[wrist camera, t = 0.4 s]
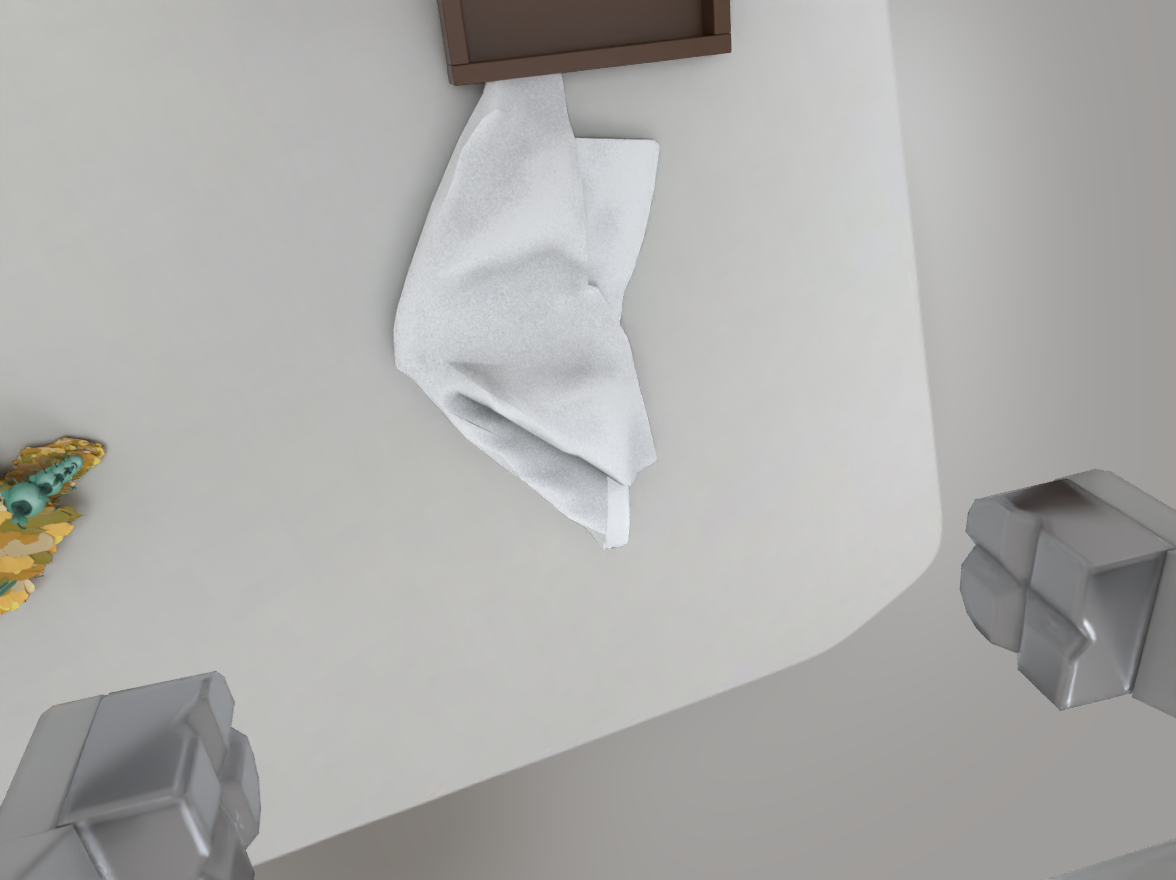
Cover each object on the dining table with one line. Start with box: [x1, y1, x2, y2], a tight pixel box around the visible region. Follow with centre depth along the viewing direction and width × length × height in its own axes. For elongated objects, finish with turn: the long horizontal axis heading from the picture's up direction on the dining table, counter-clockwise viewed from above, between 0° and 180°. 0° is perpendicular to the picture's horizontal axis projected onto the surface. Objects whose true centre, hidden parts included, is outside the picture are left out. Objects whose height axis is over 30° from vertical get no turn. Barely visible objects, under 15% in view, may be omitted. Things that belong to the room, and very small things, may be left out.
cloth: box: [393, 73, 660, 550], centre depth 44 cm, size 26×14×2 cm, turn 0°
